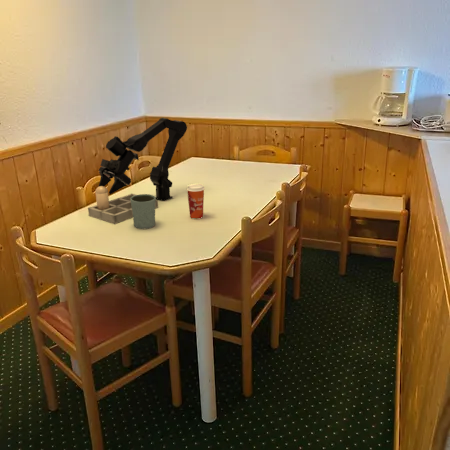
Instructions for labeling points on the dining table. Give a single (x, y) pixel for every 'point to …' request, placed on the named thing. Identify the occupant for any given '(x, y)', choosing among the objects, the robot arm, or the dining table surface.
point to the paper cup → (195, 200)
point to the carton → (115, 210)
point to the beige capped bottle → (102, 198)
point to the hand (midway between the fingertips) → (104, 191)
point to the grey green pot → (143, 210)
